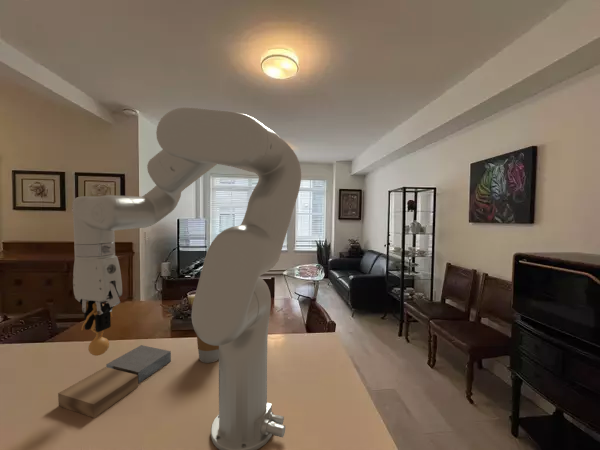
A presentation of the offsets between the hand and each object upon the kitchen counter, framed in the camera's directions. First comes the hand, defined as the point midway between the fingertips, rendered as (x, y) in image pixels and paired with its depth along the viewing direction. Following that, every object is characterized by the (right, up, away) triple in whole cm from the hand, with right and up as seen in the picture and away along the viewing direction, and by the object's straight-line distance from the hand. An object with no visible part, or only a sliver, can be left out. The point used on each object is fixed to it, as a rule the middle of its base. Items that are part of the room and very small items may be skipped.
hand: (97, 327), depth 66 cm
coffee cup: (+20, -16, +19) cm, 32 cm away
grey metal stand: (+3, -16, +13) cm, 20 cm away
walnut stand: (0, -16, +1) cm, 17 cm away
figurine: (+2, -6, 0) cm, 6 cm away
